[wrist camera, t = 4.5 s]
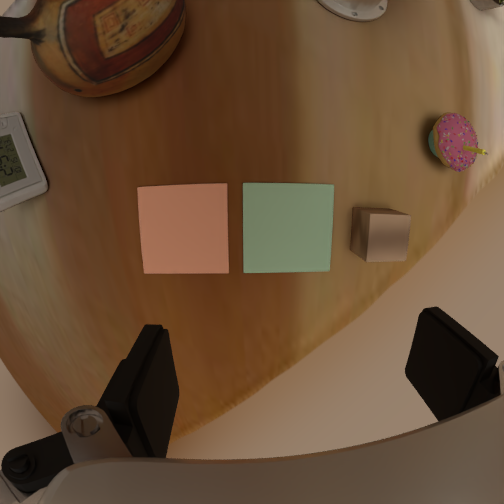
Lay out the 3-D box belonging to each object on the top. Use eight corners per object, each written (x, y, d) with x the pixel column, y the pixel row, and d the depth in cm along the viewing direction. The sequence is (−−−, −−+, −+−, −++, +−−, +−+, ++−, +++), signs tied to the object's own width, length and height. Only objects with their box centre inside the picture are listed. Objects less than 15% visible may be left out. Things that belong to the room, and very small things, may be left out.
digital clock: (54, 192, 36) (9, 202, 26) (18, 213, 37) (-24, 227, 26) (34, 101, 32) (-8, 91, 22) (0, 128, 32) (-41, 125, 22)
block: (352, 207, 39) (370, 213, 33) (389, 208, 39) (410, 215, 33) (349, 249, 41) (366, 261, 35) (386, 249, 41) (405, 260, 35)
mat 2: (242, 182, 37) (242, 183, 37) (333, 184, 38) (334, 184, 38) (243, 272, 41) (243, 272, 40) (328, 270, 41) (329, 271, 41)
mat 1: (138, 187, 37) (137, 187, 37) (227, 183, 37) (227, 183, 37) (144, 272, 40) (144, 273, 40) (228, 272, 41) (228, 273, 40)
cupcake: (449, 178, 38) (501, 185, 26) (411, 153, 37) (463, 153, 25) (461, 132, 36) (512, 129, 24) (425, 105, 35) (475, 93, 23)
